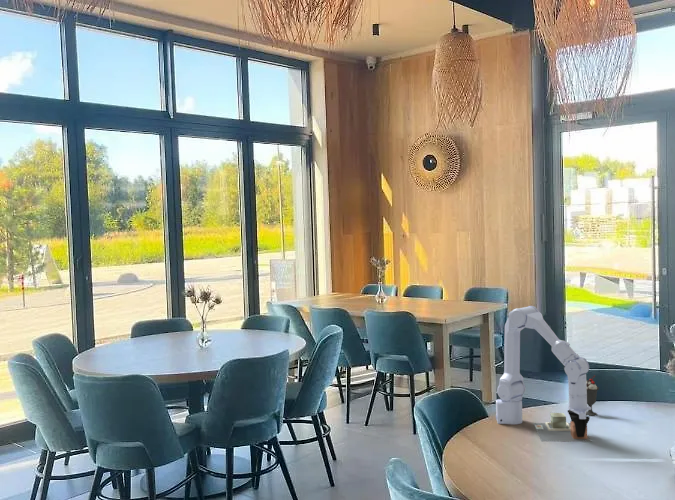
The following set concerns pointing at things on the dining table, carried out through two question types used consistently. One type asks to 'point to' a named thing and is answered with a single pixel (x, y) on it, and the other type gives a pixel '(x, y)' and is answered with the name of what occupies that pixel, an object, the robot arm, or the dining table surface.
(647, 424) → the dining table surface
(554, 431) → the grey board
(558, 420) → the sage block
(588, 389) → the sundae
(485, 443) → the dining table surface
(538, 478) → the dining table surface
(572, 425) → the terracotta block
